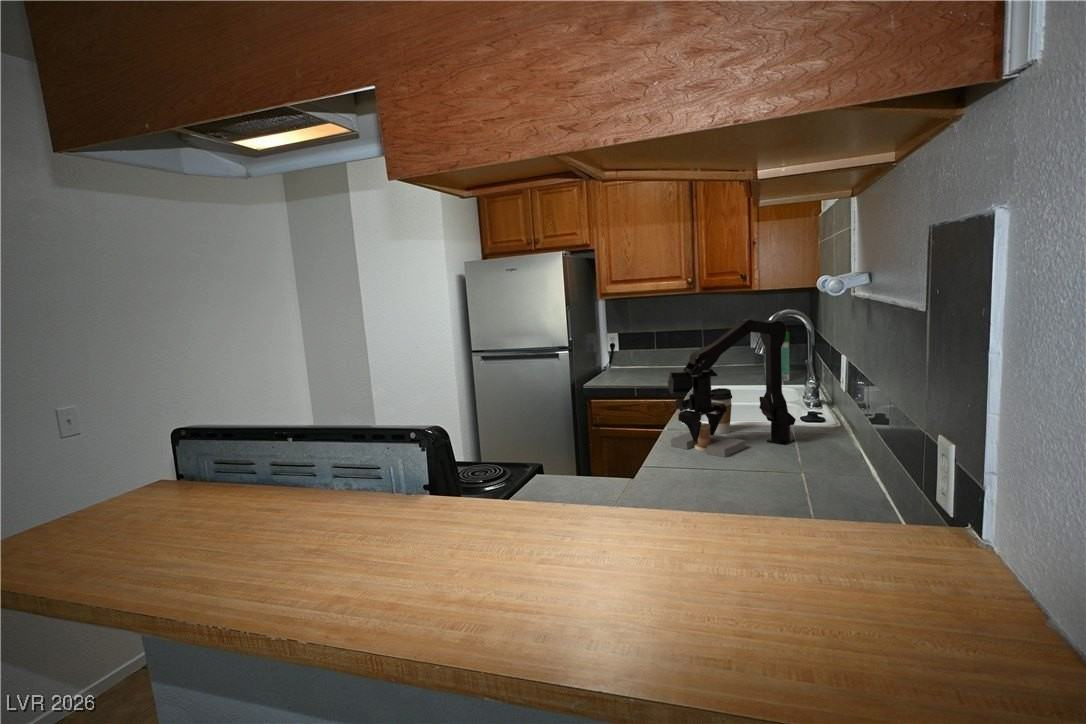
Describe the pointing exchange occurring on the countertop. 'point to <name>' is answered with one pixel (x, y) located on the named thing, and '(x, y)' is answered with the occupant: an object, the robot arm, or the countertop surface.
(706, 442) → the spool
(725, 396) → the coffee cup
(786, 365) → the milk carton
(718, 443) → the gray u-shaped block
